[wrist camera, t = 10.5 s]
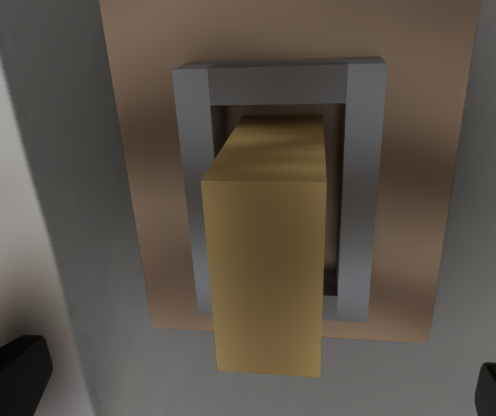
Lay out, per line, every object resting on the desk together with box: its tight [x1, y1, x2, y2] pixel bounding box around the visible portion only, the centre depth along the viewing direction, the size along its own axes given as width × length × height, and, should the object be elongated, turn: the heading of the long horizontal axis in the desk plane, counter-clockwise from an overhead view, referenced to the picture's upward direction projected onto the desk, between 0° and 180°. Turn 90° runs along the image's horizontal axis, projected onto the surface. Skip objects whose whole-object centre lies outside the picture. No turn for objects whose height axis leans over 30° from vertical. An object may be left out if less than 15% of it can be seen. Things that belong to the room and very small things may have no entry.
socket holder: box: [99, 0, 480, 343], centre depth 17 cm, size 18×13×3 cm
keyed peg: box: [201, 115, 327, 378], centre depth 15 cm, size 3×6×7 cm, turn 3°
